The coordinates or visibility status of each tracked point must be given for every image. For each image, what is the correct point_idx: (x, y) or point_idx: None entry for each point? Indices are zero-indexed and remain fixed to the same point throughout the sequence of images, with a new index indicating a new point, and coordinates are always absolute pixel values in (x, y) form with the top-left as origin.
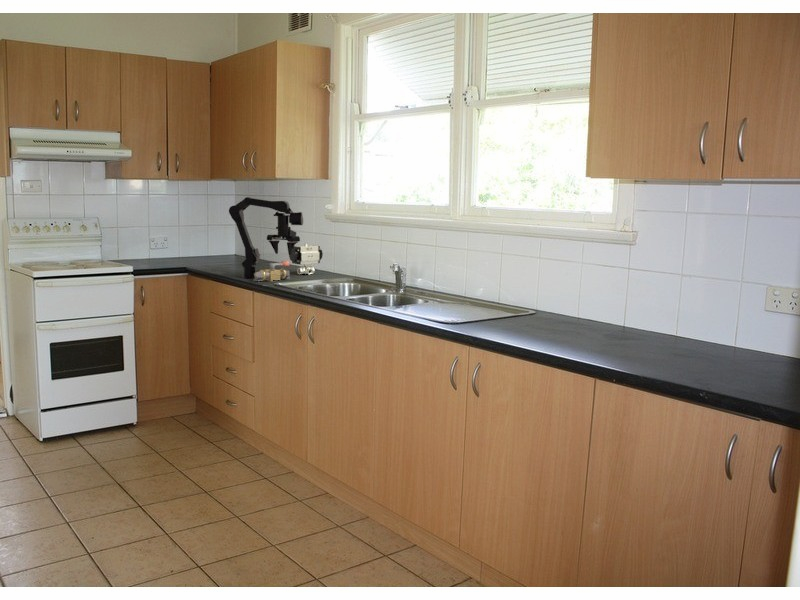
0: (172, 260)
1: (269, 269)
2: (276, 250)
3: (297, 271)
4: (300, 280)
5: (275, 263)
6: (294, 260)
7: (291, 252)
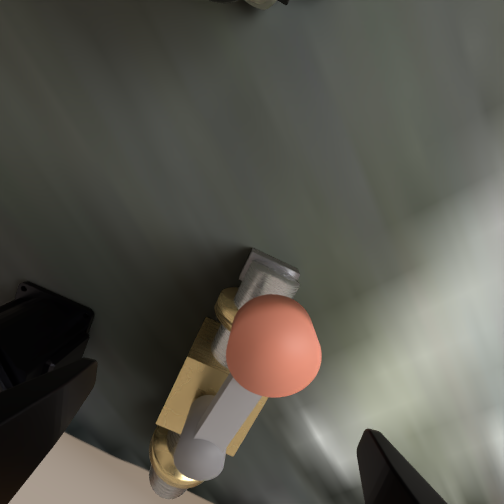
0: None
1: (178, 394)
2: (47, 431)
3: None
4: (379, 282)
5: (225, 447)
6: (227, 2)
7: (415, 474)
